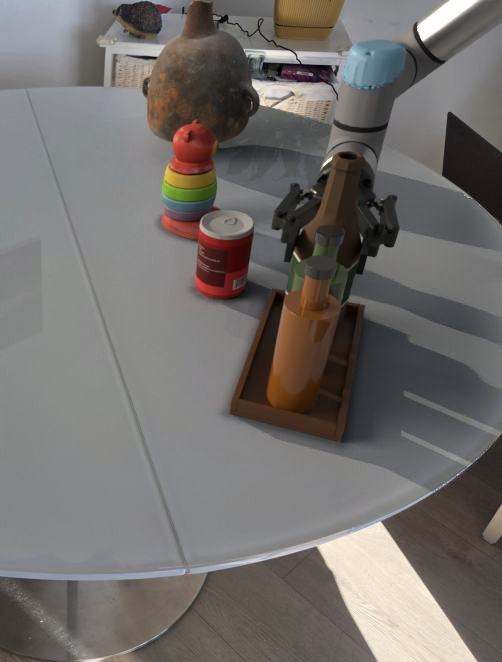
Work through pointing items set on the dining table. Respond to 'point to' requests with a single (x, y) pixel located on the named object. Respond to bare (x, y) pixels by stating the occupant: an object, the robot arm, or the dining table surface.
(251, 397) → the tray
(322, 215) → the beer bottle
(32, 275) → the dining table surface
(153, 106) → the jug
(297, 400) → the amber bottle
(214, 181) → the stacking bear
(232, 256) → the canned food
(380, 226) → the robot arm
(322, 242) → the green bottle
